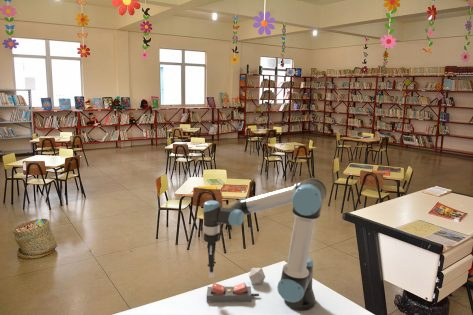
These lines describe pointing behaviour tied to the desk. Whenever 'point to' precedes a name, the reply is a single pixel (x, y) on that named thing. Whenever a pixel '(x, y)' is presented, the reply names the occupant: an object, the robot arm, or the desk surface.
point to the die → (256, 276)
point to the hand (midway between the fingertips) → (211, 276)
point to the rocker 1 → (217, 288)
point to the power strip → (230, 295)
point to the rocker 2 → (240, 288)
